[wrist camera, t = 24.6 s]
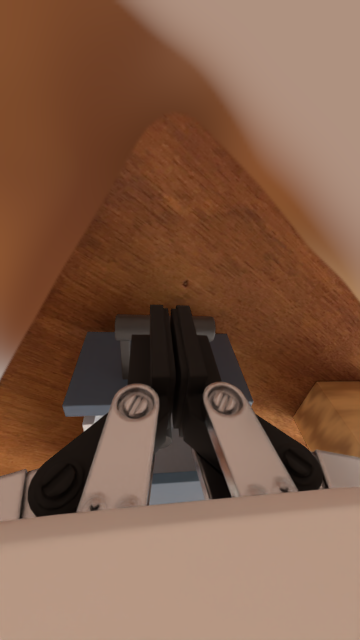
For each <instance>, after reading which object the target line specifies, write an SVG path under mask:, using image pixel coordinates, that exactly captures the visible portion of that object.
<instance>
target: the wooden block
mask: <svg viewBox="0 0 360 640" xmlns="http://www.w3.org/2000/svg"><path fill="white" fill-rule="evenodd" d="M293 419H294V421H295V423H296V425H297V427H298V429H299V431H300V433H301V435H302V437H303V439H304V441H305V443H306V445H307V446H308V448H309V450H310V451H311V452H314V451H315V450H322V451H327V452H333V453H338V454H344V455H349V456H355V457H360V381H328V382H316V383H315V384H314V386H313V388H312V389H311V391H310V392H309V394H308V395H307V397H306V398H305V400H304V401H303V403H302V404H301V406H300V407H299V409H298V410H297V412H296V413H295V415H294V416H293Z"/></svg>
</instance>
